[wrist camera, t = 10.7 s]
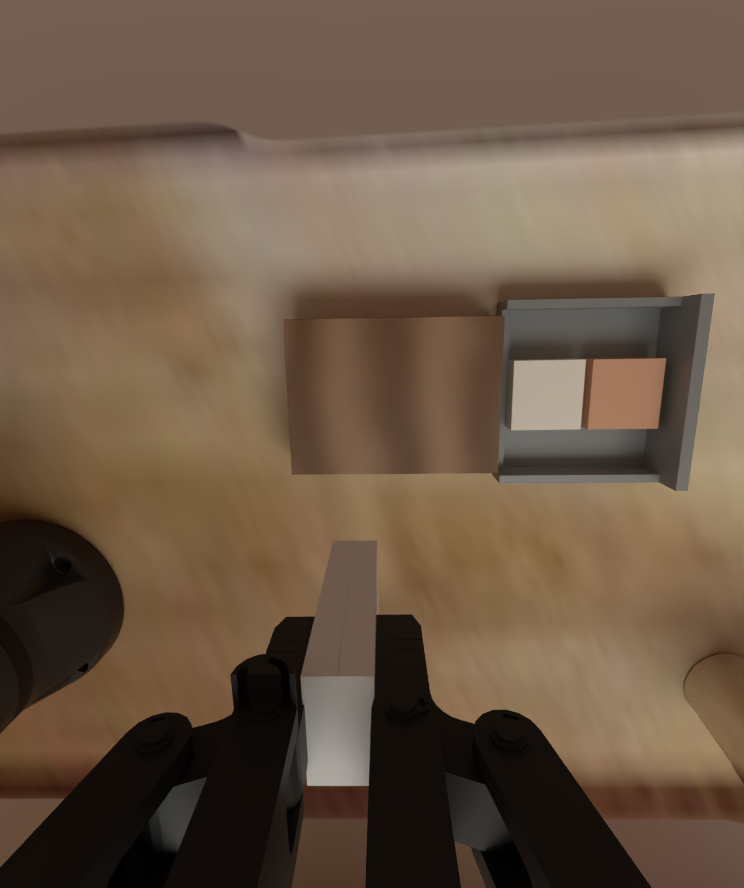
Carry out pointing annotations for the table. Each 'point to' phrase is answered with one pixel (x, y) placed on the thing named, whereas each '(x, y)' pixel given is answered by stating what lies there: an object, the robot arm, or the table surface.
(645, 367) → the terracotta tile
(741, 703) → the utensil holder
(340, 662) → the robot arm
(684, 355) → the tray
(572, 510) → the table surface
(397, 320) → the walnut board
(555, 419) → the cream tile
